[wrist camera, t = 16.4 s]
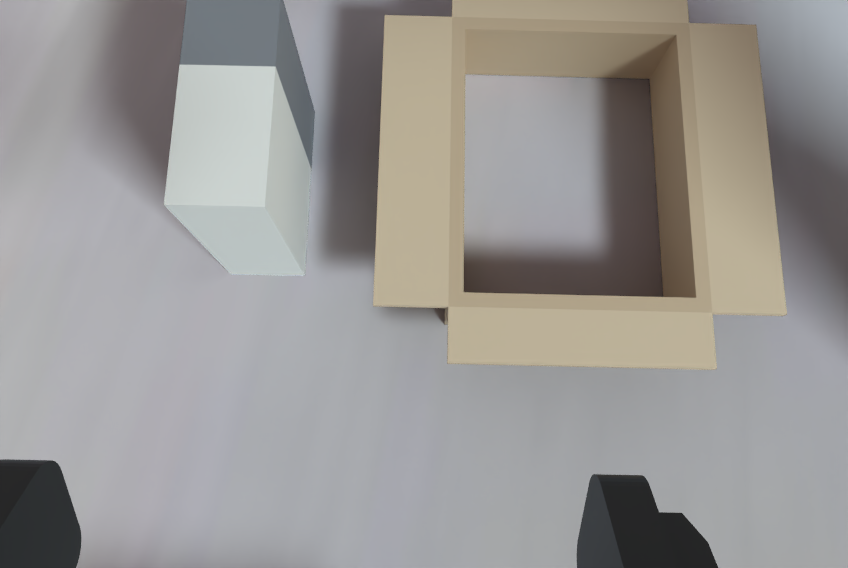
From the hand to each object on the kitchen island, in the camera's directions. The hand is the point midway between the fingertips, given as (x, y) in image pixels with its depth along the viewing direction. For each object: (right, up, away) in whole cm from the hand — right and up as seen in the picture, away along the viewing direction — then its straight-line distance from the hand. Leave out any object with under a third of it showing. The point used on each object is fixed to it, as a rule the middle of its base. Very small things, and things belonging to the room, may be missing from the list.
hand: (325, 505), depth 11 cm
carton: (+10, +9, +34) cm, 37 cm away
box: (-8, +9, +34) cm, 36 cm away
